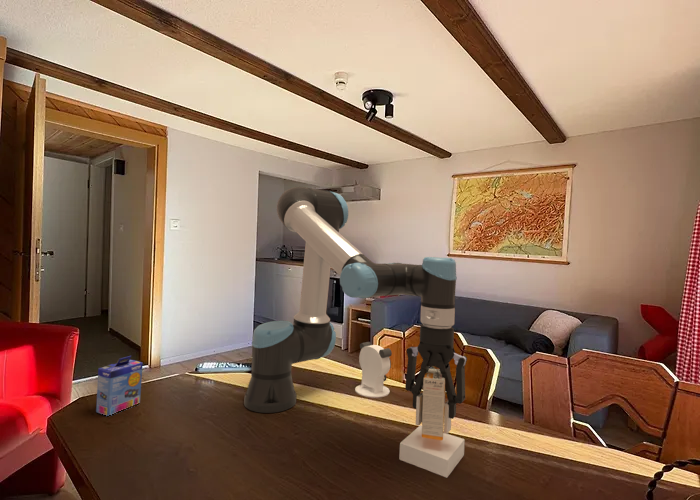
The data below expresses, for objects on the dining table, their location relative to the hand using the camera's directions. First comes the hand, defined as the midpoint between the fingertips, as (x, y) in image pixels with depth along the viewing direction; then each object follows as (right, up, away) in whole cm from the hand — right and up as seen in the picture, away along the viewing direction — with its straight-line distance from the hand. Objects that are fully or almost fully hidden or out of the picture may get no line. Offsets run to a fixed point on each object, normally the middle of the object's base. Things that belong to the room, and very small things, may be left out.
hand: (433, 426), depth 85 cm
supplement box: (0, -1, 0) cm, 1 cm away
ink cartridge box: (-83, -4, +19) cm, 85 cm away
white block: (0, -7, 0) cm, 7 cm away
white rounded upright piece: (-11, -7, +39) cm, 41 cm away
